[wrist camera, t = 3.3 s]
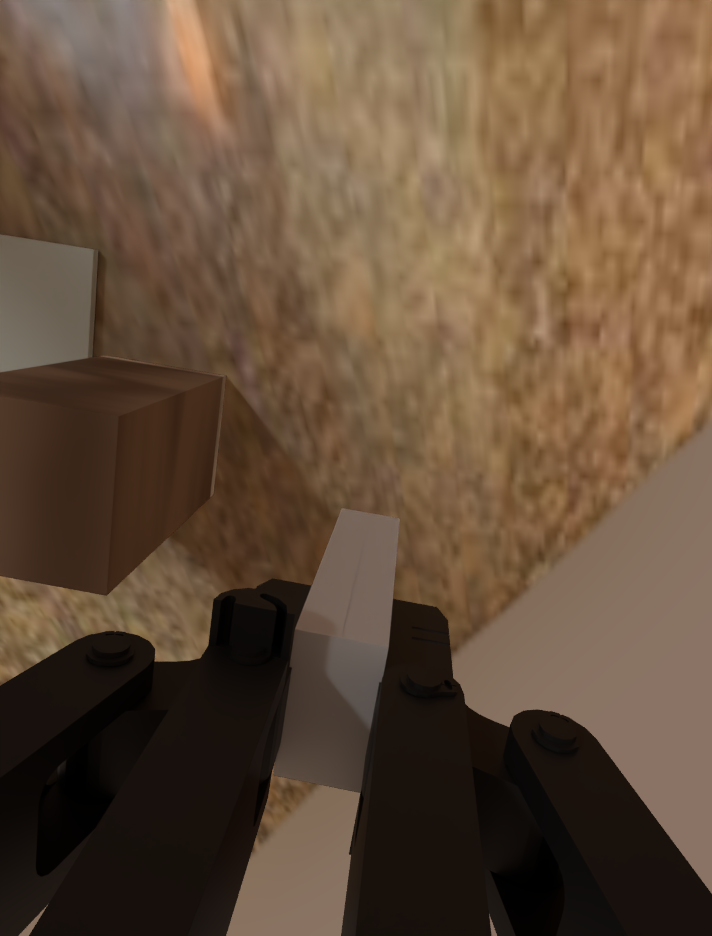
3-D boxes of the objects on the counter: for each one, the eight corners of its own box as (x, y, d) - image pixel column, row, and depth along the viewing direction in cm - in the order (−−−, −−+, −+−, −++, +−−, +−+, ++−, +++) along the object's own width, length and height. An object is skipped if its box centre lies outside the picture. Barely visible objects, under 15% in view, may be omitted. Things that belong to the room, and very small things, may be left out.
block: (97, 473, 28) (-70, 563, 18) (105, 355, 27) (-71, 383, 17) (213, 494, 28) (106, 595, 18) (226, 375, 26) (118, 416, 17)
